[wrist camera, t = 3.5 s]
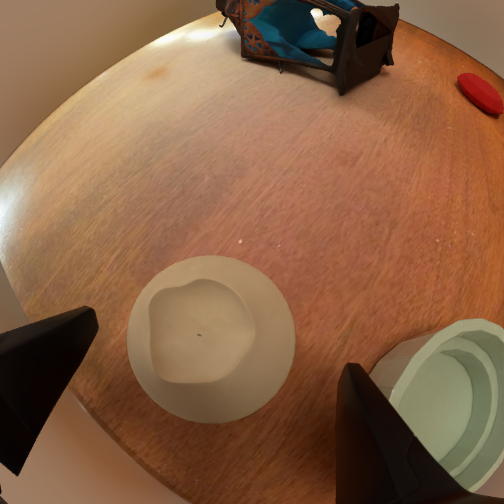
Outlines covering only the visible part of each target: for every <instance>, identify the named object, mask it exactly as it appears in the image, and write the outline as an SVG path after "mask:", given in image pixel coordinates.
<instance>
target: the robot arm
mask: <svg viewBox="0 0 504 504" xmlns="http://www.w3.org/2000/svg"><path fill="white" fill-rule="evenodd" d="M98 329H99V325H98V321H97V317H96V313H95V310H94V309H93V308H91V307H88V306H82V307H79V308H76V309H73V310H70V311H67V312H64V313H61V314H58V315H55V316H52V317H49V318H46V319H43V320H40V321H37V322H34V323H31V324H28V325H25V326H23V327H19V328H16V329H13V330H11V331H7V332H4V333H1V334H0V463H2V464H3V465H4V466H5V467H6V468H7V469H9V470H10V471H11V472H12V473H13V474H15V475H16V476H18V475H19V473H20V471H21V469H22V467H23V465H24V463H25V461H26V459H27V457H28V455H29V453H30V451H31V449H32V447H33V445H34V443H35V441H36V439H37V437H38V435H39V433H40V431H41V430H42V428H43V426H44V424H45V422H46V421H47V419H48V417H49V415H50V413H51V412H52V410H53V408H54V406H55V405H56V403H57V401H58V399H59V398H60V396H61V395H62V393H63V391H64V390H65V388H66V386H67V385H68V383H69V382H70V380H71V378H72V377H73V375H74V374H75V372H76V370H77V369H78V367H79V366H80V364H81V362H82V361H83V359H84V357H85V355H86V353H87V351H88V349H89V347H90V345H91V343H92V342H93V340H94V338H95V336H96V334H97V332H98ZM335 445H336V504H504V498H497V497H491V496H484V495H479V494H475V493H472V492H470V491H468V490H466V489H465V488H463V487H462V486H461V485H460V484H459V483H458V482H457V481H456V480H455V479H454V478H453V477H452V476H451V475H450V474H449V473H448V472H447V471H446V470H445V469H444V468H443V467H442V466H441V465H440V464H439V463H438V462H437V460H436V459H435V458H434V457H433V456H432V455H431V454H430V453H429V451H428V450H427V449H426V448H425V447H424V445H423V444H422V443H421V442H420V440H419V439H418V438H417V436H414V433H413V431H412V430H411V429H410V428H409V426H408V425H407V424H406V422H405V421H404V420H403V418H402V417H401V416H400V415H399V413H398V412H397V411H396V410H395V408H394V407H393V406H392V404H391V403H390V402H389V401H388V399H387V398H386V397H385V396H384V394H383V393H382V392H381V390H380V389H379V388H378V387H377V385H376V384H375V383H374V382H373V380H372V379H371V378H370V377H369V375H368V374H367V373H366V371H365V370H364V369H363V368H362V366H361V365H360V364H358V363H347V364H346V365H345V367H344V369H343V371H342V374H341V376H340V378H339V381H338V389H337V405H336V418H335ZM1 492H2V491H1V486H0V494H1ZM0 504H8V503H7V502H6V501H5V500H3V498H2V497H1V496H0Z"/></svg>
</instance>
